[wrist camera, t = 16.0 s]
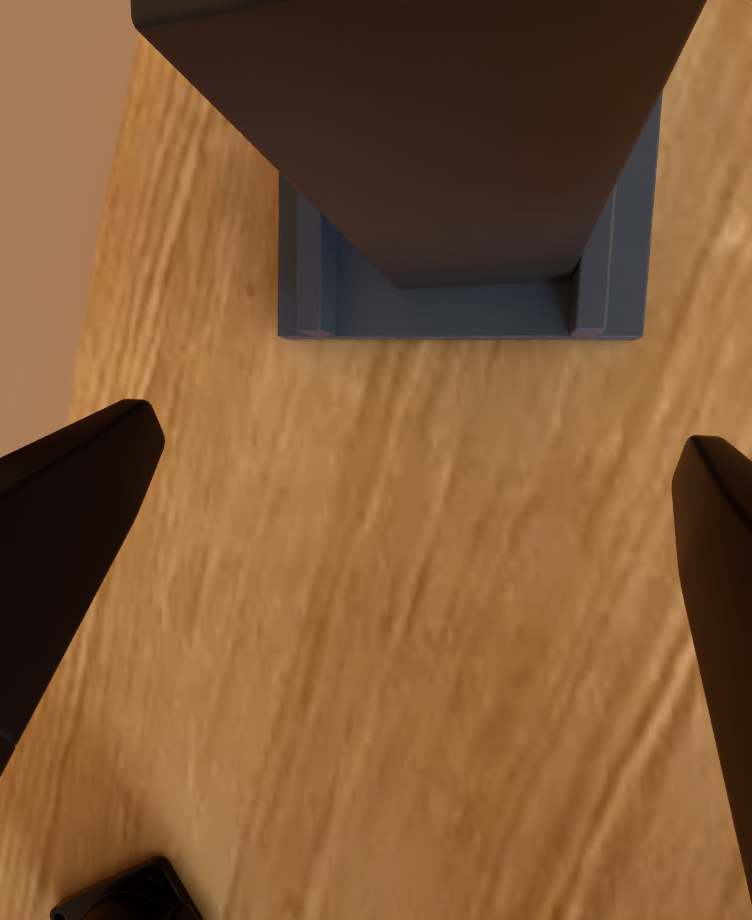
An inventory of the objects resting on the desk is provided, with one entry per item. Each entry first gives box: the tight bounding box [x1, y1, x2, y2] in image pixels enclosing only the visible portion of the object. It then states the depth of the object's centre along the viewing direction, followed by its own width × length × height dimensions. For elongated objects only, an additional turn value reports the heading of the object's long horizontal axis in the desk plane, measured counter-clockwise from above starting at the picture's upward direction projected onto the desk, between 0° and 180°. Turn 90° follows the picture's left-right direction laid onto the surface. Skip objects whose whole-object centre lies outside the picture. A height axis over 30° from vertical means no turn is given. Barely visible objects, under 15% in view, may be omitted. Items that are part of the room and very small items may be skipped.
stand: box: [278, 90, 663, 340], centre depth 16 cm, size 13×11×2 cm
